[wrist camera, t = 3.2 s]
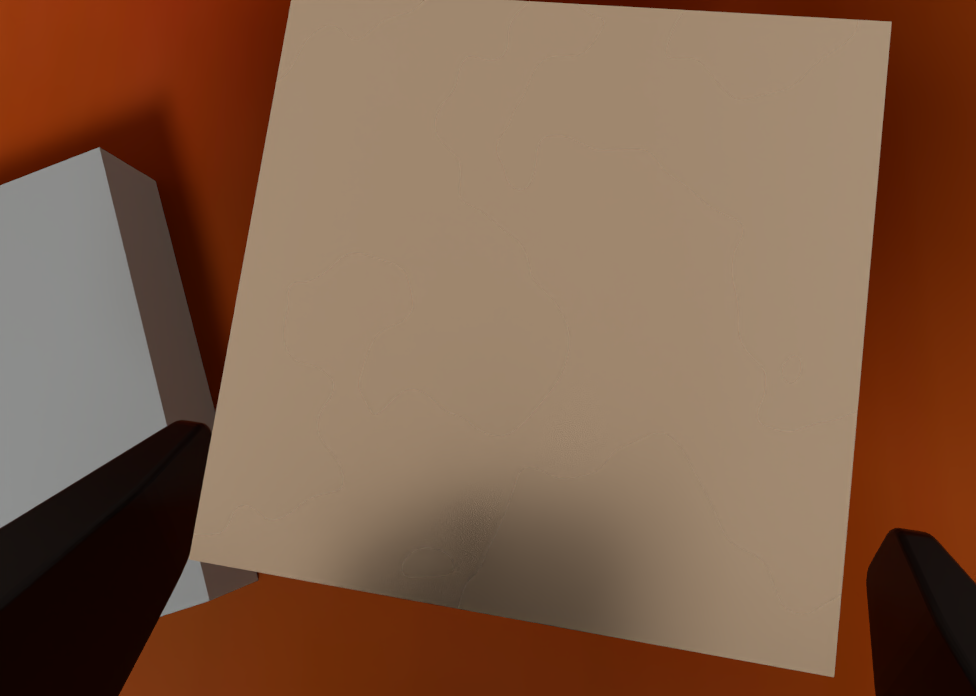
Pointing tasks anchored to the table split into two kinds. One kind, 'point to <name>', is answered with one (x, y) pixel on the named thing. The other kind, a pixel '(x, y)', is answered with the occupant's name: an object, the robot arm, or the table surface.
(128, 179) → the grey block
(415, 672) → the table surface
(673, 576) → the cream block
